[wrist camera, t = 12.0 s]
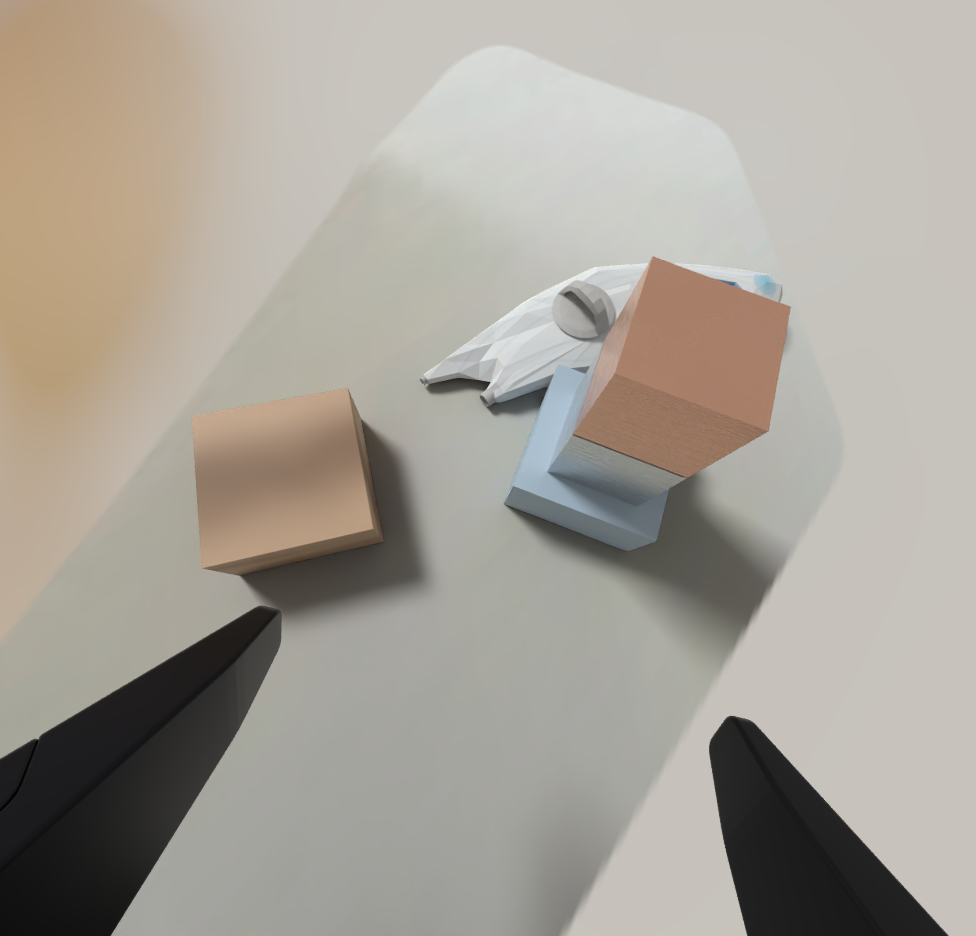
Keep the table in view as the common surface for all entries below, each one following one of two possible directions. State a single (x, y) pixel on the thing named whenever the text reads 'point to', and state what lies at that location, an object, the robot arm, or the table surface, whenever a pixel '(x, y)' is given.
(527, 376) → the spaceship
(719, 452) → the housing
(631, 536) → the stand
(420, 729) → the table surface
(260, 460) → the stand
